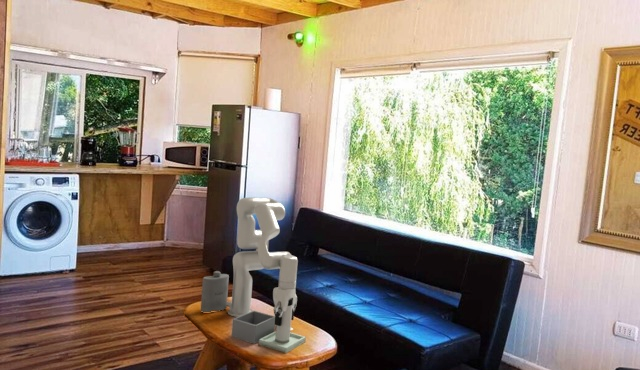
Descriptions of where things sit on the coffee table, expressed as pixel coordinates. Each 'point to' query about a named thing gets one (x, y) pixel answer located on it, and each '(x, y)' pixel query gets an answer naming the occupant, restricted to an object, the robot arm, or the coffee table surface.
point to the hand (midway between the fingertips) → (284, 322)
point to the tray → (283, 347)
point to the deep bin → (253, 326)
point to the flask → (214, 292)
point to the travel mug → (285, 325)
